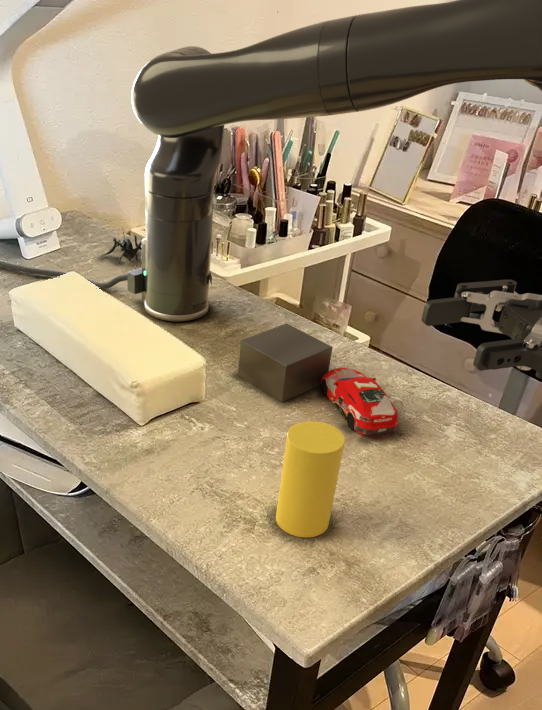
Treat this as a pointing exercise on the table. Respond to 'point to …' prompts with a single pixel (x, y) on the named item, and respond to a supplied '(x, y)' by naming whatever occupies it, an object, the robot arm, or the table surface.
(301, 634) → the table surface
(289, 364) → the block
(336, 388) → the race car
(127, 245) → the creature
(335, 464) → the canister
